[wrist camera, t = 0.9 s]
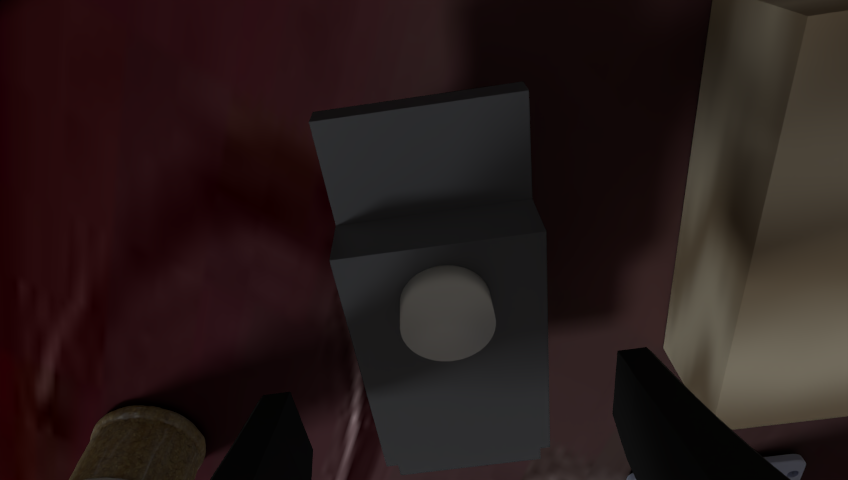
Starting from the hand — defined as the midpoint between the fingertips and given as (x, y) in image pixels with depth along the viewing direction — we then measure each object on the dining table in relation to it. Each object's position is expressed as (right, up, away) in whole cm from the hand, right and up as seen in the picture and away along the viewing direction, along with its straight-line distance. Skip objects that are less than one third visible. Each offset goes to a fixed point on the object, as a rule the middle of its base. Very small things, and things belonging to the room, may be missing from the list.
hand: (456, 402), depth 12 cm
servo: (0, +4, +6) cm, 7 cm away
